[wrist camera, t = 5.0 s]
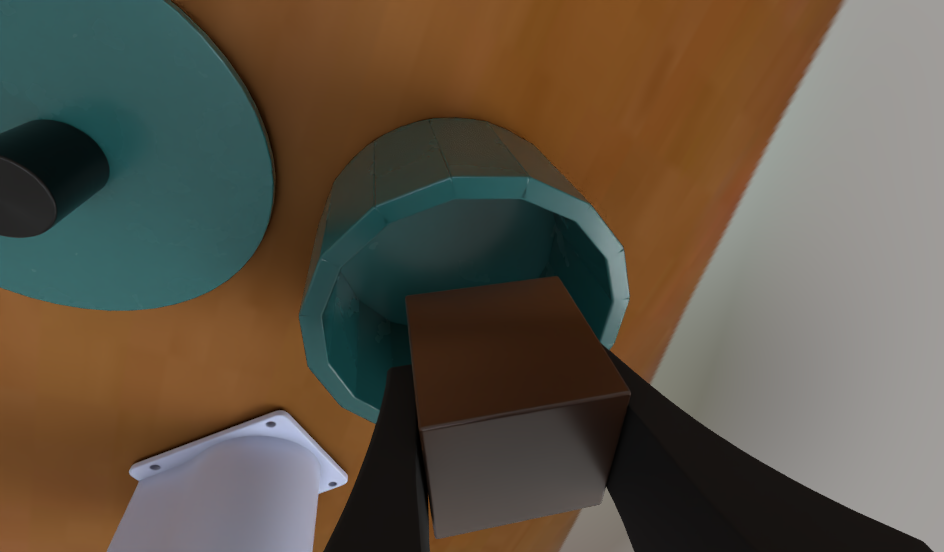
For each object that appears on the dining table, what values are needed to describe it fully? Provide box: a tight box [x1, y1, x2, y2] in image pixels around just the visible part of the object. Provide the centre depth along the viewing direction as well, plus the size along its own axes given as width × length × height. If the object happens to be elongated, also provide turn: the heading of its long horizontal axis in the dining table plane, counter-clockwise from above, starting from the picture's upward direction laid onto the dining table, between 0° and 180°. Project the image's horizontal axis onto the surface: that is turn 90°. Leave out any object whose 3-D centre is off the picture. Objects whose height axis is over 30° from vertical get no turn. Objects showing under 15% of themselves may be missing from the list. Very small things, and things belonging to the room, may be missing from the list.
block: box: [405, 276, 631, 539], centre depth 11 cm, size 4×4×4 cm
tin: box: [299, 117, 630, 424], centre depth 18 cm, size 11×11×6 cm
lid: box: [0, 0, 276, 311], centre depth 14 cm, size 13×13×4 cm
